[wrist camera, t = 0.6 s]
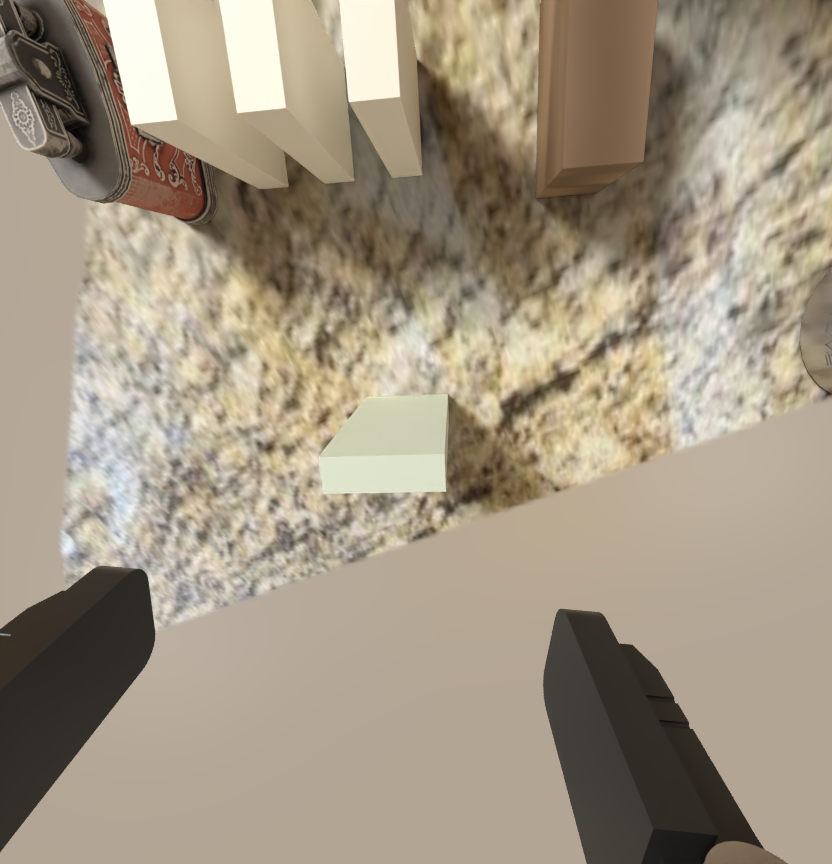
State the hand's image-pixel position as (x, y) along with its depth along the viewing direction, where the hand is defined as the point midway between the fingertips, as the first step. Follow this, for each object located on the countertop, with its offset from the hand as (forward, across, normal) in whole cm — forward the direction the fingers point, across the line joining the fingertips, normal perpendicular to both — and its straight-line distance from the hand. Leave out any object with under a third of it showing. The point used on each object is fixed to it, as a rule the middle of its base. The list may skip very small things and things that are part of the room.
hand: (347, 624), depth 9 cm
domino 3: (+19, +1, -14) cm, 24 cm away
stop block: (+18, -7, -16) cm, 25 cm away
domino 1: (+19, +8, -14) cm, 25 cm away
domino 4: (+19, 0, 0) cm, 19 cm away
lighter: (+20, +13, -13) cm, 27 cm away
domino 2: (+19, +5, -14) cm, 24 cm away
